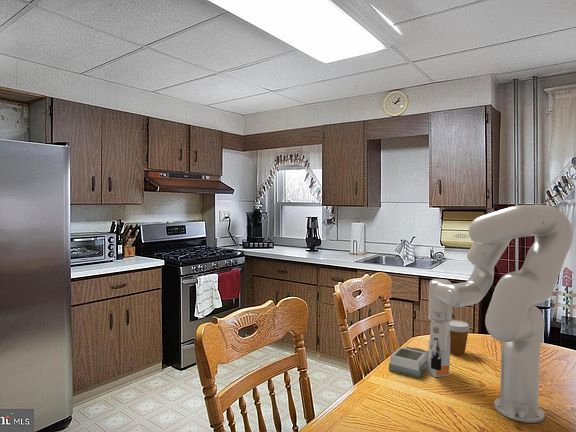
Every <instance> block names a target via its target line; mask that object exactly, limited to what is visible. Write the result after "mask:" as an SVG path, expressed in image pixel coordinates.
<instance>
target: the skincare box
mask: <svg viewBox="0 0 576 432" xmlns="http://www.w3.org/2000/svg"><path fill="white" fill-rule="evenodd" d="M432 346H433V345H432ZM437 349H440V348H438V347H437ZM427 351H428V369H427V373H428V374H429V375H431V376H433V377H434V378H438V377H448V376H450V365H451V364H450V360H451V354H450V342H448V348H447V349H446V351H444V352H443V351H441V357H440V359H441V370H440V371H439V370H435V369H432V368H431V355H432V349H431V348H430V339H428V350H427ZM437 353H438V354H439V351H437Z"/></svg>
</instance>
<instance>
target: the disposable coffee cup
mask: <svg viewBox="0 0 576 432" xmlns="http://www.w3.org/2000/svg"><path fill="white" fill-rule="evenodd" d="M469 331H470V326H469V324H468V322H466V321H463V320H456V319H455V320H454V319H452V321H451V322H450V356H451V355H452V356H455V357H462V356H463V357H464V356H465V355H466V354H465V353H466V348H467V342H468V336H469Z"/></svg>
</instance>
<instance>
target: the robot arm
mask: <svg viewBox="0 0 576 432" xmlns="http://www.w3.org/2000/svg"><path fill="white" fill-rule="evenodd" d="M468 236H469V238H470V239H471V241H472V242H473V243H472V245H471V247H470V248H469V250H468V252H467V254H466V258H467V260H468V261H469V262H470V264H472V265H473V266H474V268H473V270H472V272H471V275H470V276H469V278H468V280H466V281H465V282H457V283H452V282H451V281H450V280H448V279H442V278H433V279H431V280H430V281H429V283H428V319H429V320H430V332H429V340H430V348H431V349H432V355H431V368H432V369H435V370H439V371H440V370H441V359H440V357H441V351H443V352H444V351H446V349H447V348H448V342H450V322H451V321H452V320H453V319H452V316H453V315H452V312H453V311H452V308H460V307H461V308H463V307H465V306H469V305H476V304H478V303H479V302H481V301H482V300H483V298H484V297H486V295H487V294H488V291H489V290H490V288H491V287H492V285H493V283H494V278H495V277H494V276H495V266H496V265H497V263H498V262H499V260H500V258H501V257H502V255H503V254H504V252H505V250H506V249H507V247H508V246H509V244H510V242H511V241H512V240H513V239H518V238H525V237H534V236H535V237H536V238H535V241H534V242H533V243H532V245H531V246H530V248H529V249H528V252H527V254H526V257H525V259H524V262H523V264H522V267H521V268H520V269H519V270H515V271H511V272H507V273H506V274H503V276H501V278H500V279H499V280H498V282H497V283H496V285H495V288H494V291H493V294H492V296H491V300H490V302H489V305H488V308H487V311H486V313H485V320H484V323H485V327H486V331H487V332H488V334H489V336H491V338H493V340H496V341H498V342H500V343H501V342H502V343H501V344H502V345H501V353H500V355H501V356H500V357H501V358H500V362H501V363H500V391H499V393H500V394H499V397H497V398H496V399H494V401H493V406H494V409H495V411H497V412H498V413H499V414H500V415H502V416H505V417H506V418H509V419H511V420H513V421H517V422H522V423H528V424H535V423H540V422H542V421H544V419H545V411H544V410H543V409H542V408H541V407H540V406H539V395H540V394H539V391H540V390H539V389H540V365H541V364H540V362H541V347H542V341H543V336H544V332H545V318H544V315H543V313H542V311H541V310H540V309H539V307H537V306H536V305H539V304H542V303H545V302H546V301H548V300H549V299H550V297H551V296H552V293H553V291H554V289H555V286H556V284H557V281H558V278H559V276H560V274H561V271H562V268H563V265H564V262H565V260H566V258H567V256H568V253H569V251H570V249H571V245H572V241H573V226H572V224H571V221H570V220H569V219H568V217H567V216H566V215H565V214H564V212H563V211H561V210H559V209H558V208H556V207H554V206H551V205H546V204H517V205H514V206H509V207H507V208H506V207H505V208H503V209H499V210H496V211H493V212H490V213H487V214H483V215H481V216H478V217H476V218H474V220H472V221H471V223H470V225H469V228H468ZM432 345H433V346H432ZM437 347H438V348H440V349H437ZM437 351H439V354H438V353H437Z"/></svg>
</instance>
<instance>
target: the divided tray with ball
mask: <svg viewBox="0 0 576 432" xmlns="http://www.w3.org/2000/svg"><path fill="white" fill-rule="evenodd" d="M389 358H390V359H389V363H388V371H389V372H394V373H397V374H402V375H406V376H409V377H413V378H416V379H421V378H422V377H423V375H424V374H425V373H426V371H428V350H424V349H421V348H418V347H412V346H411V347H410V346H405V347H402V346H399V347H397V349H396V350H394V352H393V353H392V354H390V357H389Z"/></svg>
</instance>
